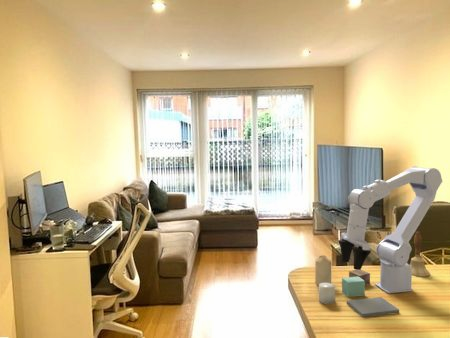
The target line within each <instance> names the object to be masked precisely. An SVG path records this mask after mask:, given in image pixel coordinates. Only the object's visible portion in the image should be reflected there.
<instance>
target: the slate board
mask: <svg viewBox="0 0 450 338" xmlns="http://www.w3.org/2000/svg"><path fill="white" fill-rule="evenodd" d="M346 305H347V306H349V307H350V308H351V309H352V310H353V311H355V313H357V314H358V315H359V316H360V317H362V318H368V317H376V316H385V315H393V314H399V313H400V309H399V308H398V307H397V306H395V305H393V304H392V303H391V302H389V301H387V300H386V299H385V298H383V297H382V296H381V297H380V296H379V297H369V298H360V299H350V300H348V299H347V300H346Z"/></svg>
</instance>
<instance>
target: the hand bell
mask: <svg viewBox="0 0 450 338" xmlns="http://www.w3.org/2000/svg"><path fill="white" fill-rule="evenodd" d="M414 234H415V235H414V237H413V243H414V247H415V253H414V257H411V259H410V263H409V266H410V267H411V271H412V276H414V277H429V276H430V271H429V270H428V269H427V267H426V264H425V259H424V258H423V257H421V247H422V239H423V238H422V235H421V233H420V231H415V233H414Z"/></svg>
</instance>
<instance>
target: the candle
mask: <svg viewBox="0 0 450 338" xmlns="http://www.w3.org/2000/svg"><path fill="white" fill-rule="evenodd" d="M314 261H315V263H314V264H315V268H314V269H315V270H314V272H315V278H314V280H315V281H314V282H315V285H316V286H319V284H320V283H331V284H332V260H331V259H330V258H329V257H328V256H326V255H319V256H318V257H317V258H316V259H315V260H314Z"/></svg>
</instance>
